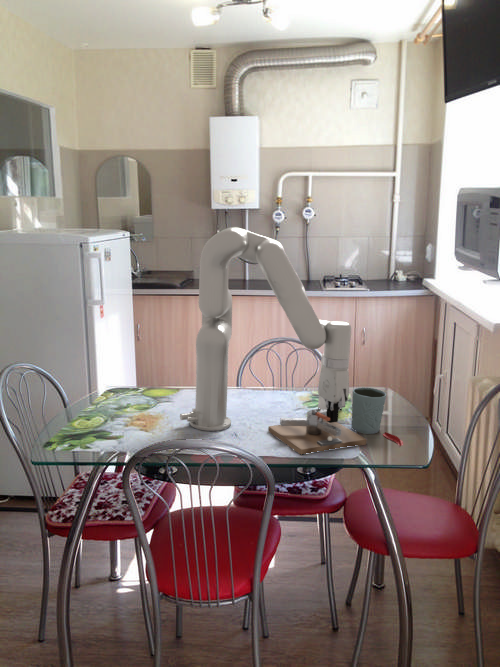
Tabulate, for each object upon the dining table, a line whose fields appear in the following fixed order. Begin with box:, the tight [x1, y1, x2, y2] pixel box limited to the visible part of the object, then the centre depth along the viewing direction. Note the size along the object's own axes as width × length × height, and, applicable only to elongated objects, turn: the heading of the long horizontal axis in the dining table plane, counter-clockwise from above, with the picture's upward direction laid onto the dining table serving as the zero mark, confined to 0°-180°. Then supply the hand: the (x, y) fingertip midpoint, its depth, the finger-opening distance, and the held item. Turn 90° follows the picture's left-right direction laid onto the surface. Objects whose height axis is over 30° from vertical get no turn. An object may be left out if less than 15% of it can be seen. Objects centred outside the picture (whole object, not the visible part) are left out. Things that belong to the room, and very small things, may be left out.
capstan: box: [279, 409, 341, 436], centre depth 175 cm, size 16×18×6 cm
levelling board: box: [267, 419, 368, 456], centre depth 175 cm, size 22×19×2 cm
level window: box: [317, 438, 342, 446], centre depth 167 cm, size 7×2×1 cm, turn 116°
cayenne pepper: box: [382, 431, 404, 447], centre depth 176 cm, size 12×5×2 cm, turn 1°
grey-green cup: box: [351, 387, 387, 435], centre depth 183 cm, size 10×10×12 cm
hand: (331, 421), depth 180 cm, fingers closed
